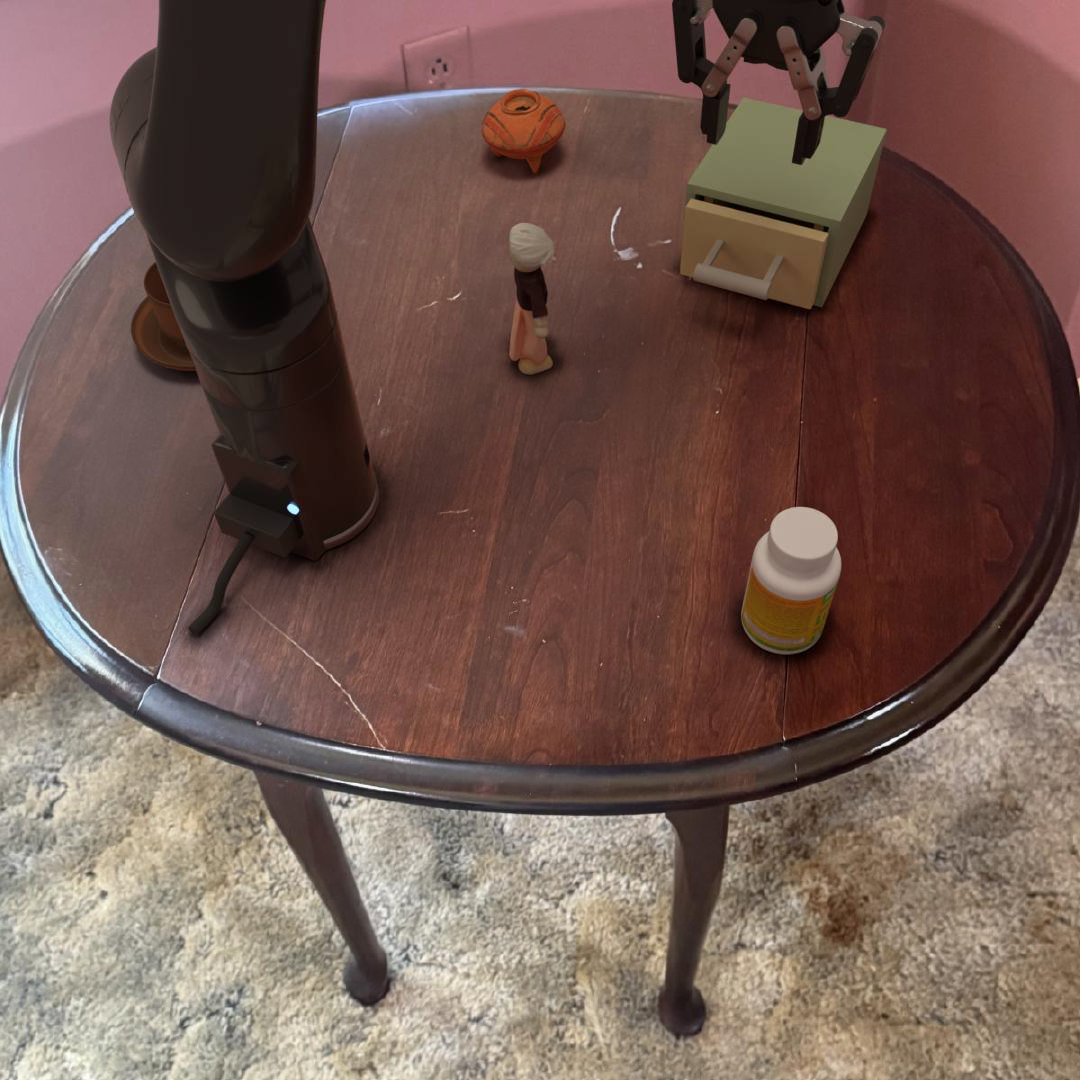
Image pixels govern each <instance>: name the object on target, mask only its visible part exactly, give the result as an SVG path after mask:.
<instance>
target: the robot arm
mask: <svg viewBox="0 0 1080 1080" xmlns="http://www.w3.org/2000/svg"><path fill="white" fill-rule="evenodd" d="M326 4H327V0H158V20H157V21H158V22H157V40H156V46H155V47H153V48H152V49H149V50H148V51H146V52H145V53H143V54H142V55H141V56H139V57H138V58H137V59H136V60H135V61H134V62H133V63H132V64H131V65H130V66H129V67H128V69H127V70H126V71H125V73H124V74H123V75H122V76H121V79H120V80H119V82H118V84H117V86H116V88H115V90H114V94H113V97H112V100H111V105H110V108H109V109H110V110H109V134H110V140H111V144H112V148H113V152H114V154H115V157H116V160H117V161H116V162H117V164H118V168H119V170H120V174H121V177H122V180H123V183H124V188H125V190H126V193H127V196H128V199H129V203H130V206H131V208H132V211H133V213H134V215H135V218H136V219H137V221H138V222H139V224H140V227H141V228H142V229H143V231H144V233H145V236H146V238H147V241H148V243H149V246H150V249H151V252H152V255H153V257H154V262H155V261H156V264H157V267H158V270H159V273H160V276H161V278H162V281H163V284H164V287H165V290H166V293H167V295H168V298H169V301H170V304H171V307H172V310H173V313H174V315H175V318H176V320H177V323H178V325H179V328H180V330H181V333H182V335H183V338H184V341H185V343H186V346H187V348H188V351H189V354H190V356H191V359H192V361H193V364H194V367H195V369H196V371H195V373H196V374H197V377H198V381H199V383H200V385H201V388H202V391H203V393H204V396H205V399H206V402H207V404H208V406H209V410H210V413H211V415H212V418H213V420H214V423H215V426H216V428H217V430H218V433H219V435H217V437H216V438H215V439H214V440H213V442H212V443H211V449H212V452H213V455H214V458H215V460H216V462H217V464H218V468H219V470H220V472H221V475H222V477H223V480H224V483H225V485H226V488H227V490H228V494H227V496H226V497H225V498H224V499H223V500H222V501H221V503H220V504H219V505H218V506H217V508H216V509H215V510H214V511H213V515H214V518H215V519H216V522H217V525H218V527H219V529H220V532H221V533H222V534H224V535H226V536H229V537H231V538H234V539H237V540H239V541H238V542H237V544H236V545H235V547H234V548H233V550H232V552H231V553H230V555H229V556H228V558H227V560H226V561H225V563H224V565H223V567H222V569H221V570H220V573H219V574H218V576H217V579H216V580H215V584H214V588H213V592H212V596H211V599H210V601H209V603H208V605H207V606H206V608H205V610H204V611H203V612H202V613H201V614H200V615H199V616H198V617H197V618H196V619H195V620H194V621H193V622H192V623H191V624H190V625H189V626H188V627H187V629H188V631H190V633H192V634H193V635H195V636H198V635H199V633H201V632H202V631H203V630H204V629H205V628H206V627H207V626H208V625H209V624H210V623H211V622H212V621H213V620H214V619H215V618H216V616H217V615H218V614H219V612H220V610H221V607H222V605H223V603H224V600H225V596H226V592H227V588H228V586H229V584H230V581H231V579H232V577H233V575H234V574H235V572H236V569H237V567H238V566H239V564H240V563H241V561H242V559H243V558H244V557H245V555H246V553H247V552H248V550H249V548H250V547H251V545H252V546H254V547H257V548H259V549H262V550H264V551H267V552H270V553H272V554H275V555H277V556H280V557H281V558H285V559H286V558H287V557H288V555H289V554H290V553H293V554H296V555H298V556H302V557H304V558H307V559H308V560H311V561H318V560H319V559H320V557H322V556H323V554H324V553H325V552H326V551H327V550H330V549H333V548H336V547H338V546H341V545H343V544H345V543H347V542H349V541H350V540H352V539H354V538H355V537H356V536H358V535H359V534H360V533H361V532H362V531H364V529H365V528H367V526H368V525H369V523H371V521H372V519H373V518H374V516H375V514H376V512H377V509H378V507H379V503H380V488H379V483H378V479H377V476H376V475H377V474H376V473H375V470H374V468H373V463H372V462H373V460H372V458H371V457H372V455H371V450H370V449H371V448H369V447H370V443H368V442H369V439H368V438H367V437H368V434H367V433H365V432H367V431H366V429H364V426H363V421H362V416H361V412H360V408H359V404H358V399H357V395H356V390H355V386H354V382H353V377H352V373H351V369H350V366H349V360H348V356H347V352H346V347H345V342H344V338H343V337H344V336H343V334H342V329H341V324H340V321H339V316H338V311H337V308H336V307H337V306H336V301H335V298H334V294H333V289H332V283H331V280H330V276H329V273H328V270H327V267H326V264H325V261H324V259H323V256H322V253H321V250H320V247H319V244H318V241H317V238H316V234H315V232H314V229H313V228H314V227H313V226H312V223H311V220H310V214H311V211H312V209H313V203H314V198H315V193H316V192H315V191H316V190H315V189H316V174H317V173H316V172H317V145H318V144H317V143H318V140H317V139H318V114H319V113H318V111H319V89H320V88H319V87H320V86H319V85H320V61H321V48H322V36H323V28H324V17H325V10H326ZM671 9H672V22H673V35H674V45H675V57H676V67H677V68H676V69H677V77H678V79H679V80H680V82H682V83H684V84H691V83H692V84H694V85H695V86H696V87H698V88H699V90H700V91H701V93H702V102H701V115H700V123H699V124H700V125H699V128H700V131H701V134H702V135H706V143H707V144H711V145H713V144H714V145H717V144H718V142H719V141H720V139H721V138H722V136H723V134H724V132H725V129H726V123H727V122H728V113H729V102H730V95H731V83H728V79H729V77H730V76H731V75H732V72H733V71H734V69H735V67H736V66H737V64H738V63H739V62H740V60H741V59H742V58H743V63H747V64H753V65H763V64H766V65H768V66H770V67H772V68H774V69H776V70H780V71H785V72H788V75H789V79H790V81H791V85H792V89H793V90H794V91H796V92H797V95H798V99H799V102H800V106H801V108H802V109H801V110H803V112H802V114H801V116H800V117H799V121H798V127H797V133H796V139H795V145H794V151H793V157H792V163H794V164H798V165H802V164H803V162H804V161H805V159H806V158H807V159H811V157H812V156H813V155H814V153H815V151H816V149H817V148H818V146H819V144H820V141H821V135H822V130H823V125H824V120H825V116H832V115H833V117H835V118H840V119H842V118H845V117H846V116H847V115H848V114H849V112H850V110H851V108H852V105H853V104H854V101H856V99H857V97H858V96H859V93H860V91H861V89H862V86H863V83H864V81H865V79H866V76H867V74H868V71H869V69H870V66H871V63H872V60H873V58H874V55H875V53H876V51H877V48H878V45H879V42H880V41H881V38H882V35H883V33H884V31H885V28H886V22H885V20H884V19H883V18H882V17H881V16H880V15H872V16H870V17H868V19H864V18H861V17H858V16H855V15H853V14H850V13H848V12H846V9H845V6H844V2H843V0H672V2H671ZM711 9H713V11H714V14H715V15H716V18H717V20H718V22H719V23H720V25H721V26H722V27H721V28H722V29H723V30H724V33H725V34H726V36H727V39H728V42H727V43H726V45H725V46H724V48H723V50H722V51H721V53H720V54H719V56H718V58H717V59H716V61H715V62H713V61H711V60H710V59H707V47H706V31H705V21H706V20H707V19H708V17H709V16H710V14H711ZM835 34H838V35H839V36H840V37H841V39H842V44H841V49H842V52H843V53H844V55H845V56H846V57H848V61H847V63H846V66H845V69H844V71H843V74H842V77H841V79H840V82H839V84H838V86H834V87H831V86H830V83H829V79H828V75H827V70H826V65H827V60H826V55H825V51H824V47H823V45H824V44H826V42H827V41H829V40H830V39H831V38H832V37H833V36H834V35H835Z"/></svg>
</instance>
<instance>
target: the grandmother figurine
mask: <svg viewBox="0 0 1080 1080" xmlns="http://www.w3.org/2000/svg"><path fill="white" fill-rule="evenodd" d="M554 247H555V246H554V242H553V240H552V239H551V238H550V236H548V234H547V233H546V231H545V230H544V229H543V228H542V227H541V226H538V225H535V224H532V223H530V222H519V223H517V224H516V225H514V226H513V227H511V229H510V232H509V252H508V254H509V260H510V263H511V265H512V266H513V267H514V270H513V277H514V283H515V287H516V290H515V291H516V293H515V294H516V298H515V306H514V313H513V316H512V317H513V318H512V325H511V332H510V342H509V358H510V359H511V361H514V362H517V361H518V360H519V361H518V363H517V365H518V369H519V371H520V372H522V374H524V375H535V374H539V373H542V372H544V371H546V370H549V369H551V368H552V366H553V360H552V357H551V356H550V355H549V354H548V346H547V345H548V344H547V341H546V338H548V335H549V329H548V327H547V326H548V316H549V312H548V307H547V304H548V297H549V291H548V288H547V287H548V286H547V283H546V279H545V275H544V272H543V269H542V267H541V266H542V265H543V266H544V265H545V263H546V262H547V261H550V260H552V258H553V257H554V255H555V248H554Z"/></svg>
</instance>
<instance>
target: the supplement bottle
mask: <svg viewBox="0 0 1080 1080" xmlns="http://www.w3.org/2000/svg"><path fill="white" fill-rule="evenodd" d="M838 540H839V533H838V529H837V527H836V524H835V523H834V522H833V520H832V519H831V518H830V517H829V516H827V515H826V514H825V513H824V512H822V511H819V510H817V509H816V508H812V507H808V506H806V507H805V506H794V507H789V508H786V509H783V510H782V511H781V512H779V513H777V515H775V516H774V518H773V519H772V521H771V523H770V526H769V530H768V531H767V532H766V533H764V534H762V537H760V538H759V539H758V541H757V543H756V545H755V546H754V547H755V548H754V549H753V554H752V558H751V562H750V567H749V572H748V576H747V581H746V586H745V587H746V588H745V590H744V591H745V592H744V596H743V602H742V606H741V612H740V618H741V619H740V620H741V624H742V627H743V630H744V632H745V634H746V635H747V636H748V638H749V639H750V640H751V641H752V642H753V643H754V644H755V645H757V646H758V647H760V648H761V649H762V650H765V651H767V652H770V653H773V654H778V655H795V654H799V653H803V652H805V651H807V650H808V649H810V648H811V647H813V646H814V645H815V644H817V642H818V640H819V639H820V637H821V635H822V634H823V631H824V629H825V624H826V622H827V617H828V615H829V612H830V609H831V605H832V602H833V599H834V596H835V593H836V589H837V585H838V584H839V580H840V577H841V572H842V558H841V555H840V554H841V553H840V552H839V549H838V547H837V545H838Z"/></svg>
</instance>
